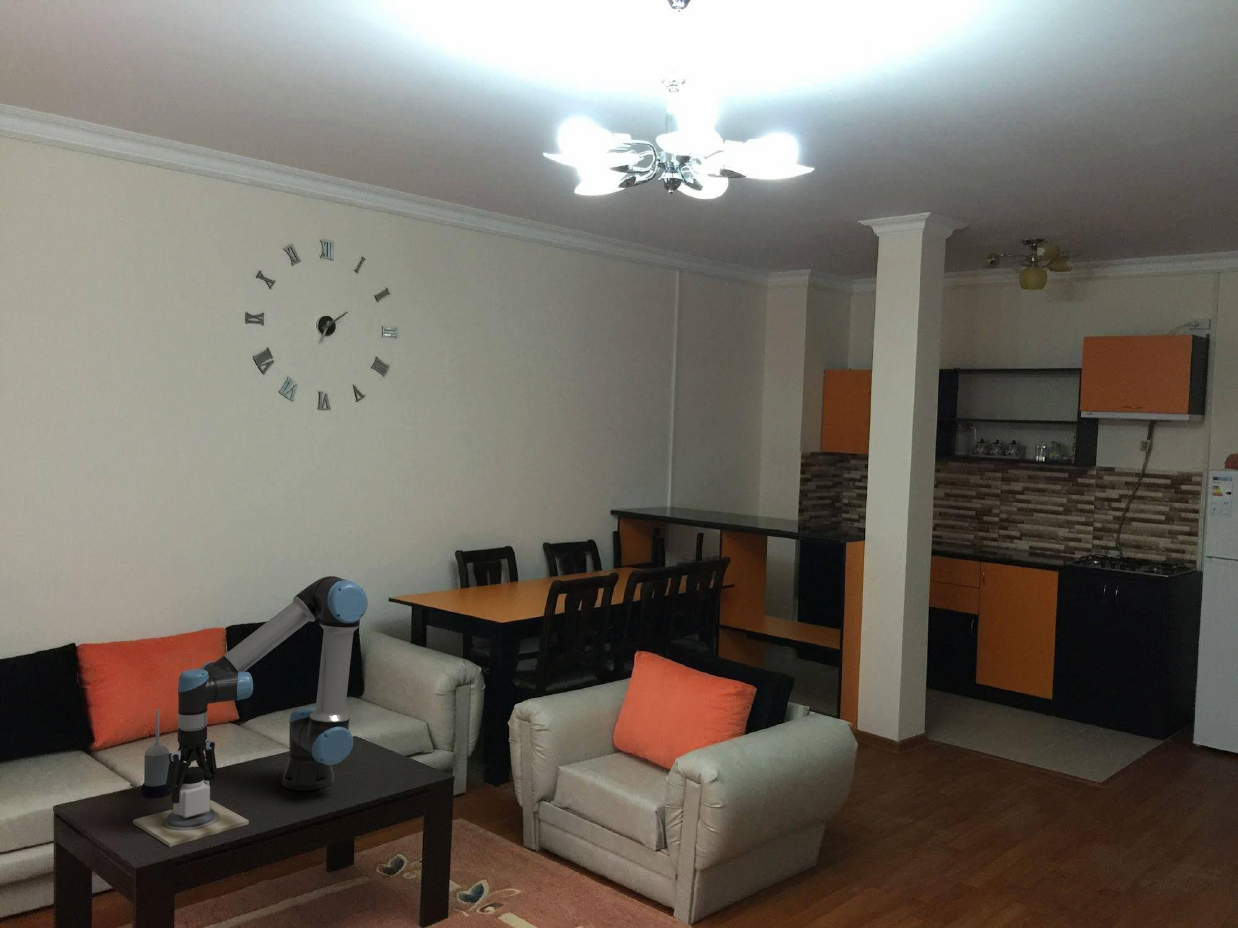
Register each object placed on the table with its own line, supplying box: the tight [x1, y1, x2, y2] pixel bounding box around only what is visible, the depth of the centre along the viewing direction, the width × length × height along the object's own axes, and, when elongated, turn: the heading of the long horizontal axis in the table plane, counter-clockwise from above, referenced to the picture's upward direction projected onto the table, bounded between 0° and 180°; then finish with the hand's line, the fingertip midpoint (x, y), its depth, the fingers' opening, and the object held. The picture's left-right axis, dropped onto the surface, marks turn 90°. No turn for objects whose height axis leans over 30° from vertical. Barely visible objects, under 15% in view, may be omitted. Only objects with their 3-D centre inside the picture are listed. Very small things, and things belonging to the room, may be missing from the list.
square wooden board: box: [132, 799, 250, 848], centre depth 283 cm, size 22×22×2 cm
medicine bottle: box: [172, 765, 211, 818], centre depth 283 cm, size 7×7×12 cm
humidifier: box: [141, 709, 172, 799], centre depth 305 cm, size 8×8×25 cm
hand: (191, 808), depth 283 cm, fingers closed on medicine bottle, 8 cm apart
